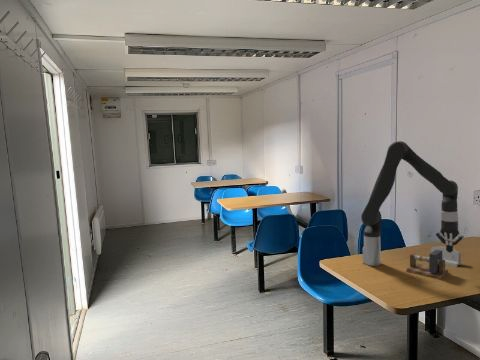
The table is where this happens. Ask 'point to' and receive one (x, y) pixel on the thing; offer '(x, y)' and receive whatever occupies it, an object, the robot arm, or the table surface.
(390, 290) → the table surface
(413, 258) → the pipe stand
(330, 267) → the table surface
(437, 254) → the collar
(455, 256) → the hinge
